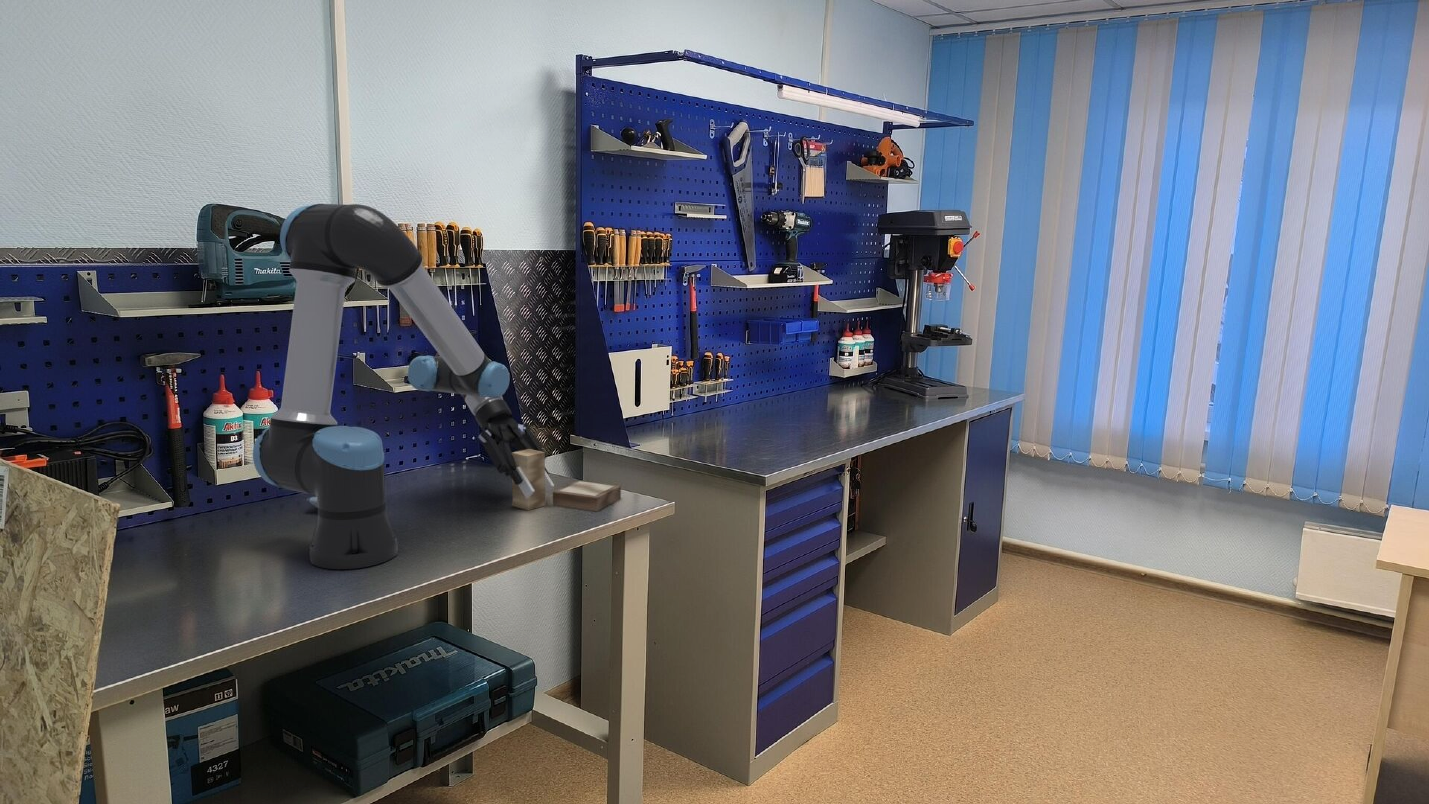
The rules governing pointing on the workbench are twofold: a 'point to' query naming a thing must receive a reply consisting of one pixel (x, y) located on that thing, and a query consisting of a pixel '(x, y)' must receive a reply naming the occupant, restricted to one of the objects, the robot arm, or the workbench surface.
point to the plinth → (586, 495)
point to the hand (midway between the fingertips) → (540, 491)
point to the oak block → (530, 478)
